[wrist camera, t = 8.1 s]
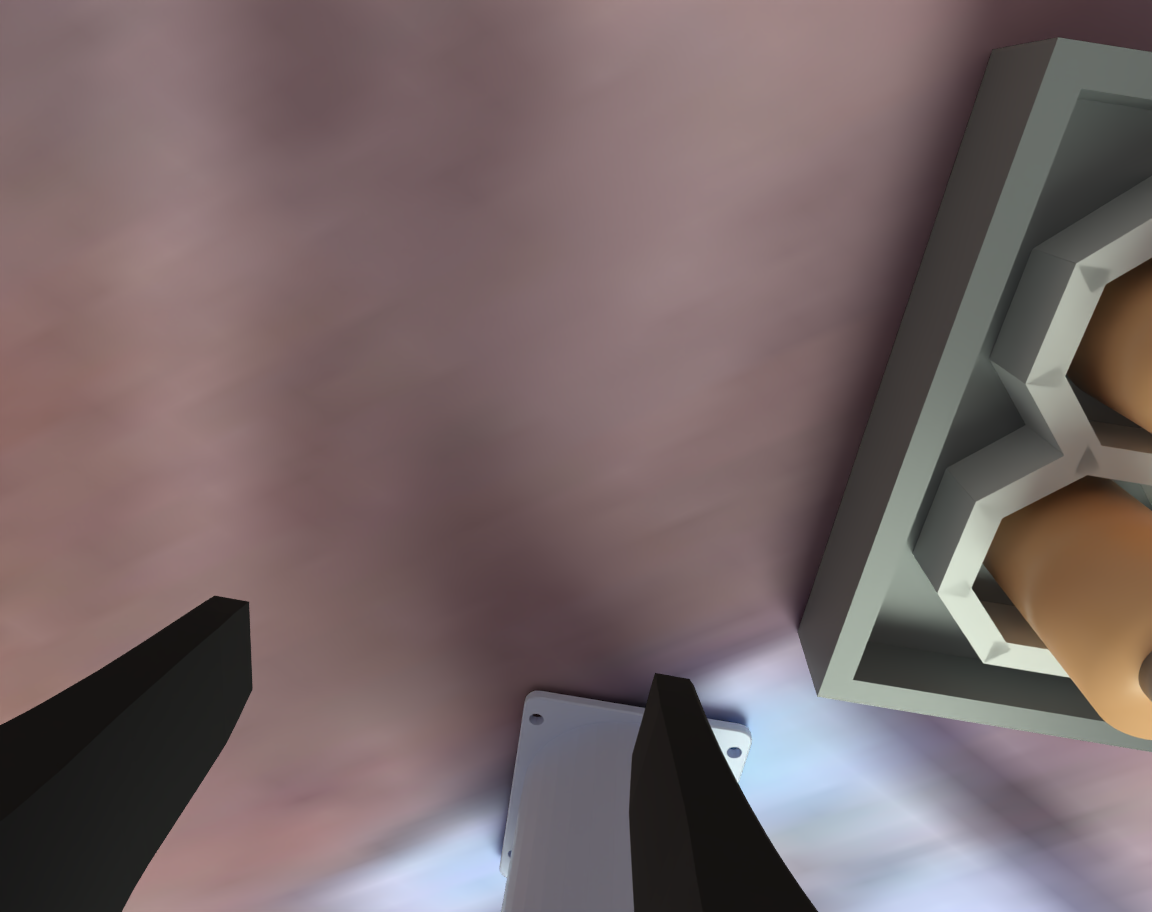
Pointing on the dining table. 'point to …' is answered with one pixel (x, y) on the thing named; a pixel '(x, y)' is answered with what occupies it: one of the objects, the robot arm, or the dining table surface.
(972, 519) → the housing
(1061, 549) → the orange battery
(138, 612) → the dining table surface
